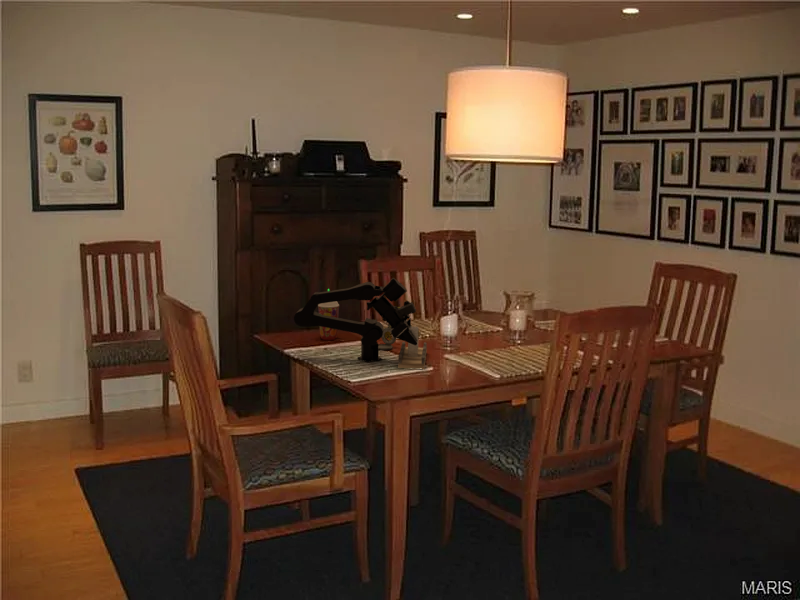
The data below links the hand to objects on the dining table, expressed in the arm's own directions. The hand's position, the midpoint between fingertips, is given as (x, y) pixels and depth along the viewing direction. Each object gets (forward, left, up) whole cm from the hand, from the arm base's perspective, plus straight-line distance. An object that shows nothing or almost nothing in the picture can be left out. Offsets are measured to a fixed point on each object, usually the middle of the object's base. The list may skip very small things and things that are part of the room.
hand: (417, 341), depth 308 cm
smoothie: (-47, -8, -7) cm, 48 cm away
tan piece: (-1, -1, -7) cm, 7 cm away
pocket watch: (-22, +2, -7) cm, 23 cm away
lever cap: (-1, -1, -5) cm, 5 cm away
